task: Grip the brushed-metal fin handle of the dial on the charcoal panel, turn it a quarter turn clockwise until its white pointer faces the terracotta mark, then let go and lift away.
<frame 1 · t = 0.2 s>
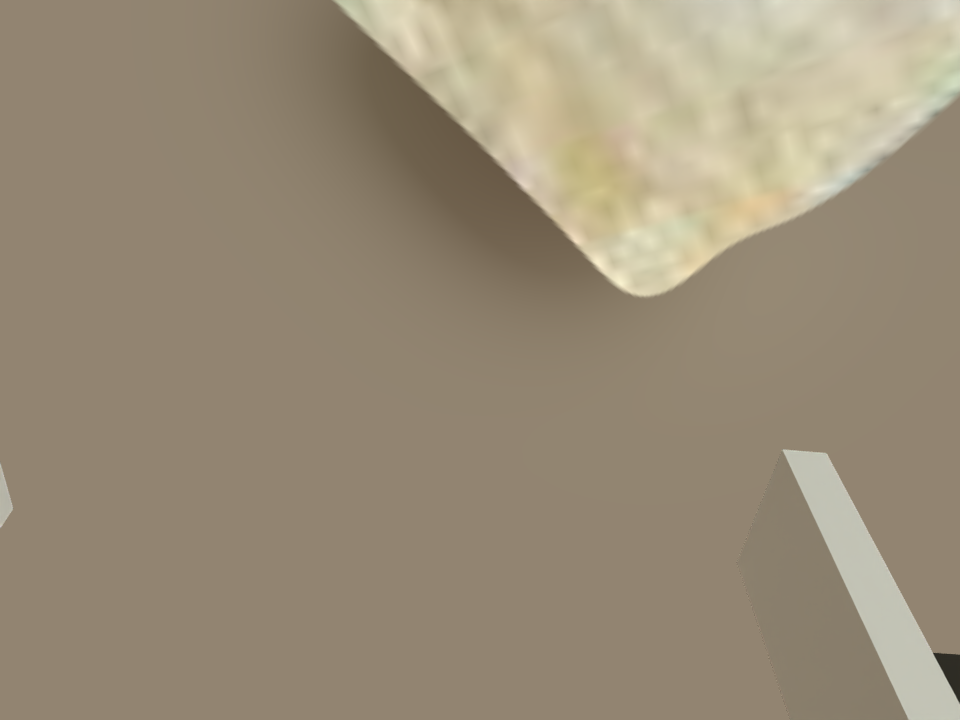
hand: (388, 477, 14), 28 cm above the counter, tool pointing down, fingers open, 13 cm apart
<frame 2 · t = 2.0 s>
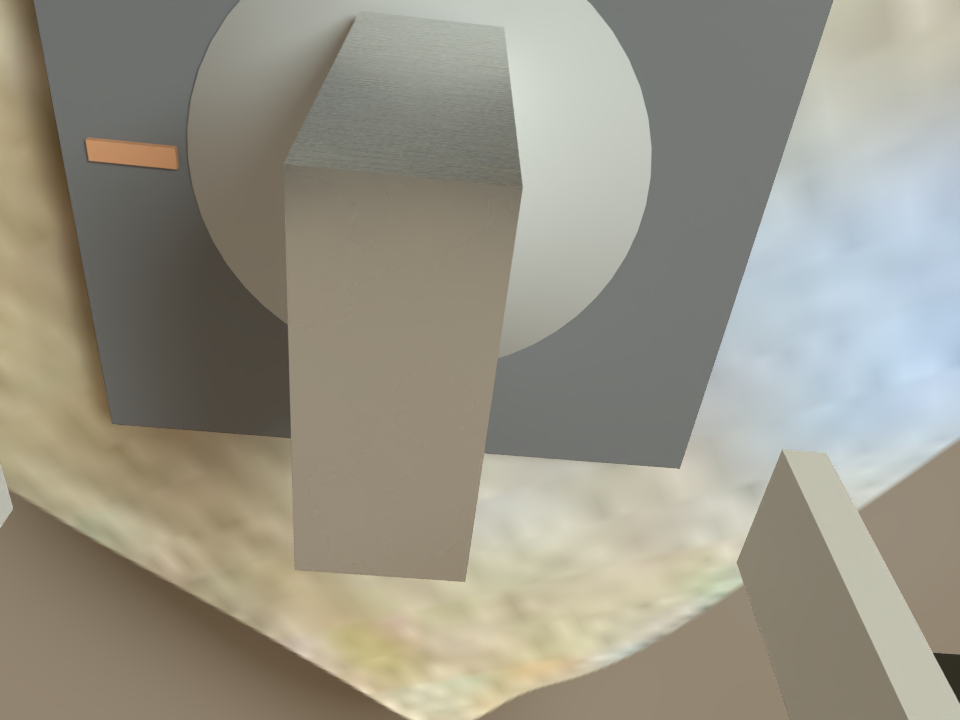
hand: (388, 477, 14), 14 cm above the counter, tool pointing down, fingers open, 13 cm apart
dial plate: (425, 148, 26), on the counter
dial handle: (408, 283, 19), point 8 cm above the counter, hinge at 0.0°
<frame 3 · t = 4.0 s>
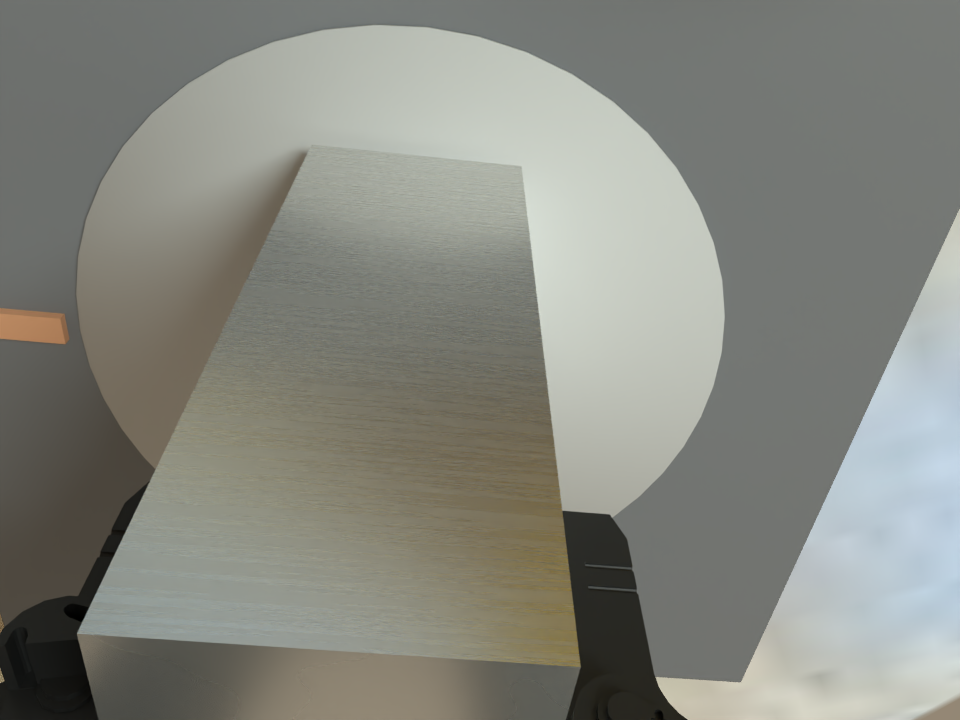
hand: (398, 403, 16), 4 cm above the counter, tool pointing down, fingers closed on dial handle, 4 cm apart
dial plate: (412, 296, 19), on the counter
dial handle: (377, 567, 13), point 8 cm above the counter, hinge at 0.0°, touching gripper
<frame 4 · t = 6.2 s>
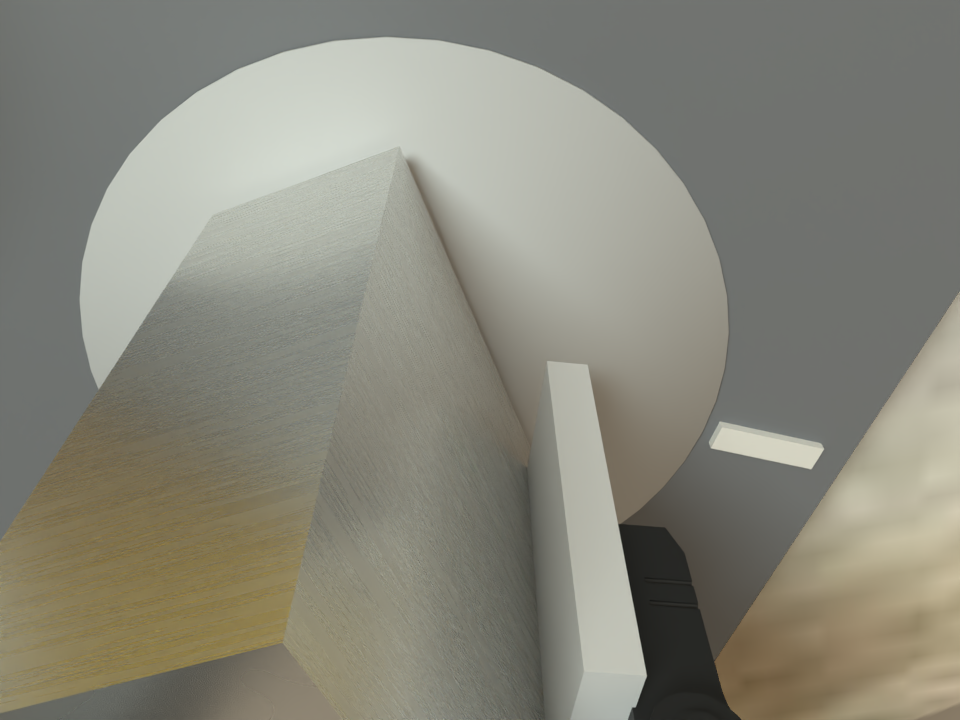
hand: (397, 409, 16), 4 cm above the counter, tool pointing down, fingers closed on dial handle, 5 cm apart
dial plate: (415, 305, 19), on the counter
dial handle: (387, 580, 13), point 8 cm above the counter, hinge at -55.2°, touching gripper
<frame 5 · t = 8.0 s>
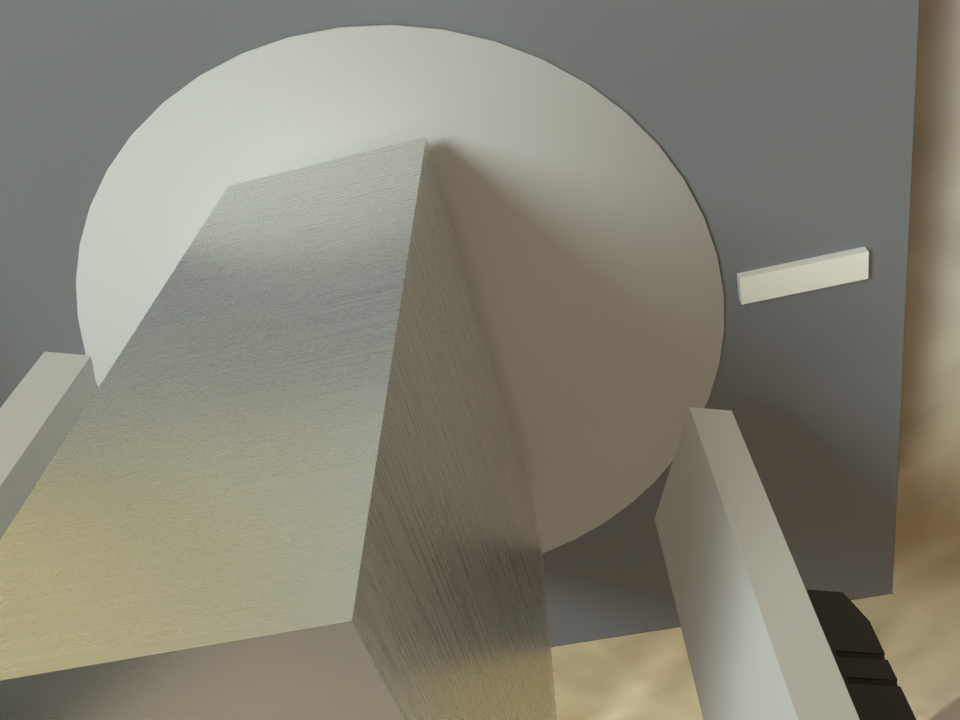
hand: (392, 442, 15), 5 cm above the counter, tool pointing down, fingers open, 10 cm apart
dial plate: (412, 296, 19), on the counter
dial handle: (382, 567, 13), point 8 cm above the counter, hinge at -89.7°
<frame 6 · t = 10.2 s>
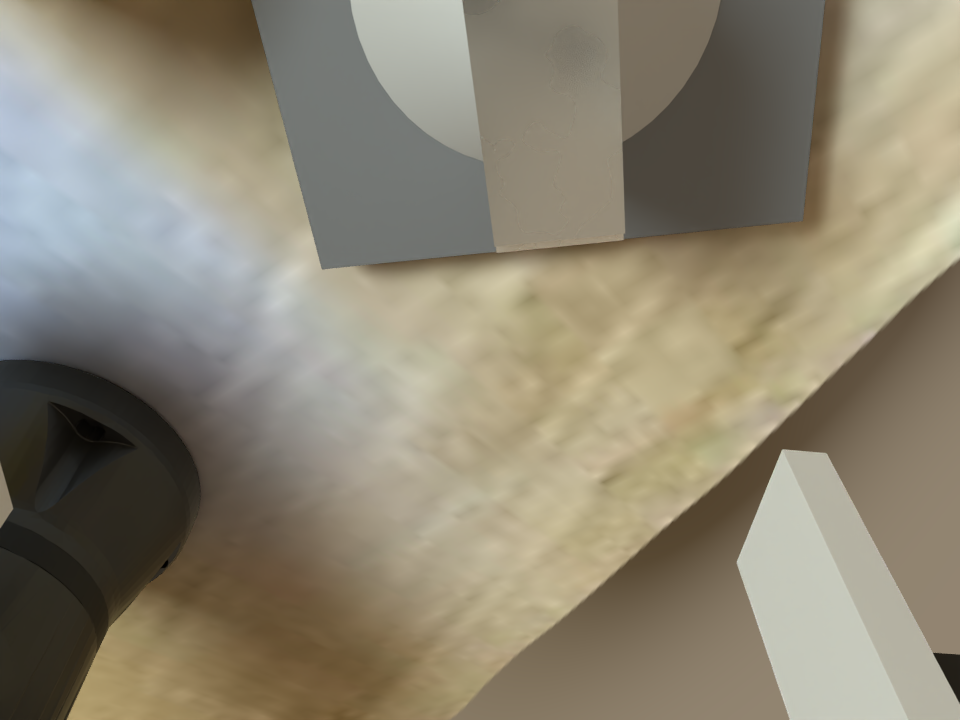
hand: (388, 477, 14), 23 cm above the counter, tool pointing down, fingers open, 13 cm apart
dial handle: (540, 34, 25), point 8 cm above the counter, hinge at -89.9°
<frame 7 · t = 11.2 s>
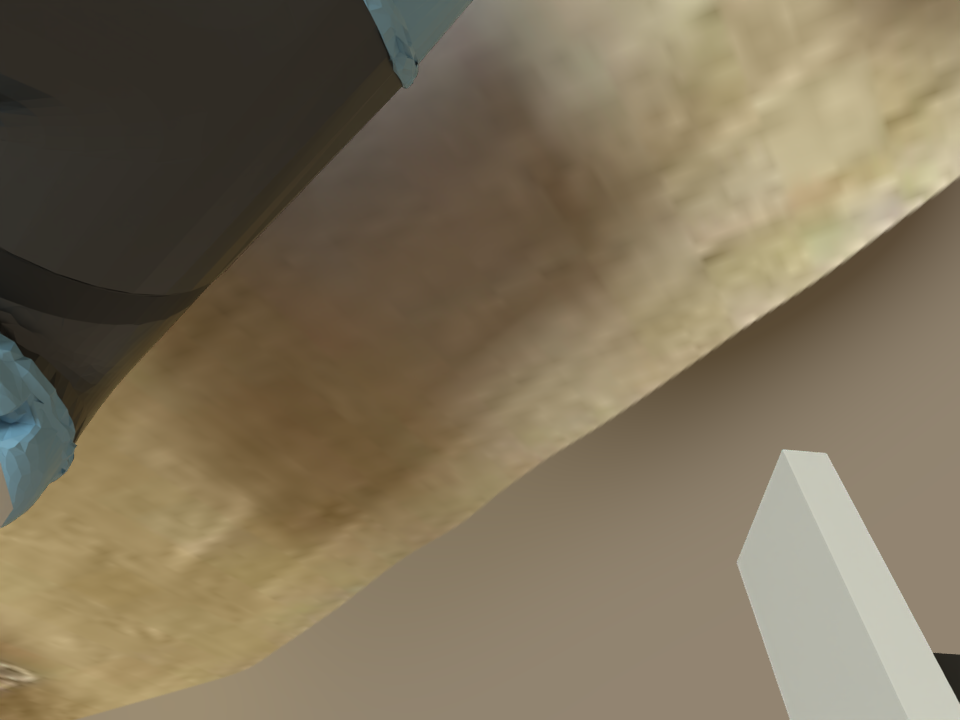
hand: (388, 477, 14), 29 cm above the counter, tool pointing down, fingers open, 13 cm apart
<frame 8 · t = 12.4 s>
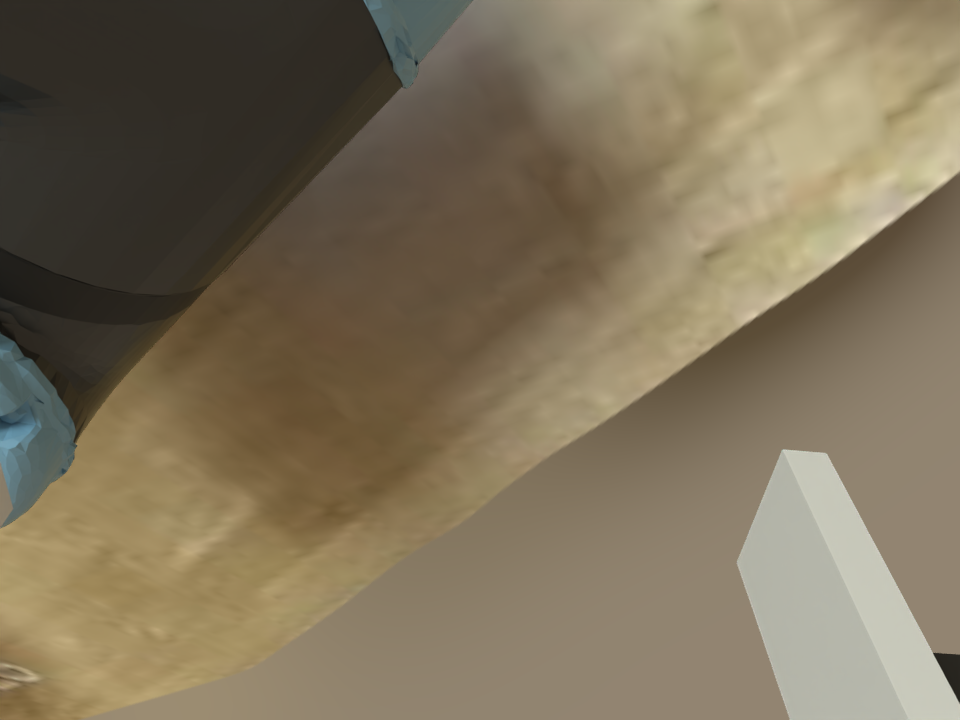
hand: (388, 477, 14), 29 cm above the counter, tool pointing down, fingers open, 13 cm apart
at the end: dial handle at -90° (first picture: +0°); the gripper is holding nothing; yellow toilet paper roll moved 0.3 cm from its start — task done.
